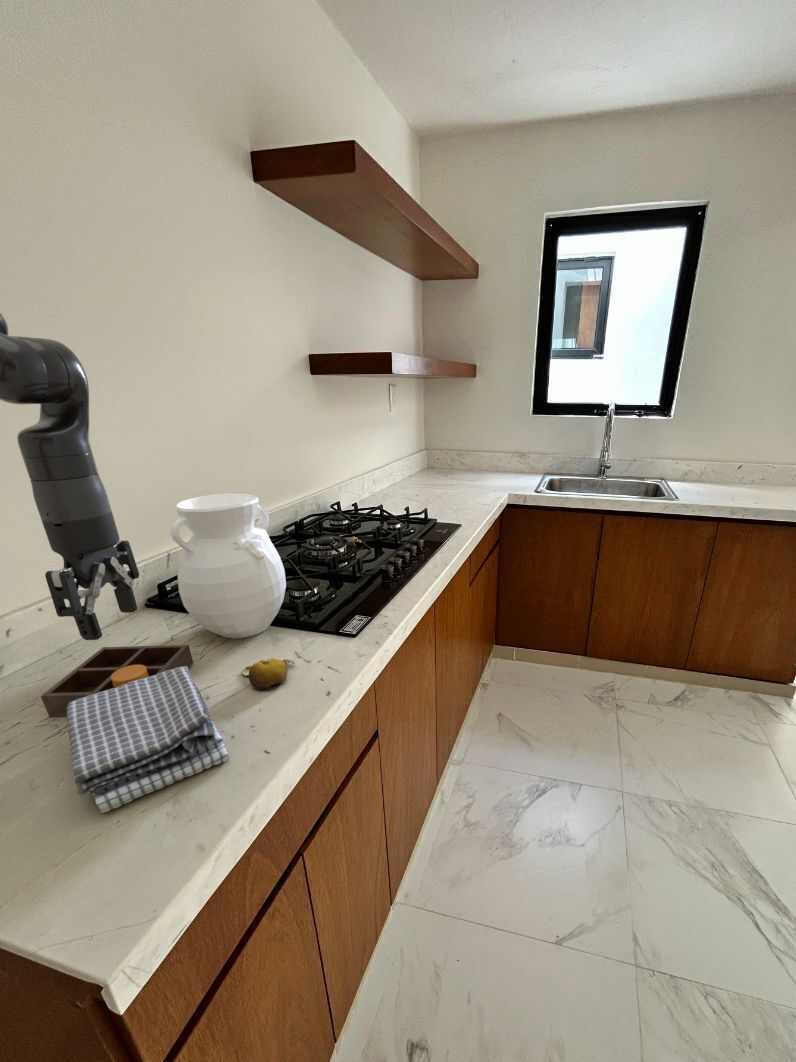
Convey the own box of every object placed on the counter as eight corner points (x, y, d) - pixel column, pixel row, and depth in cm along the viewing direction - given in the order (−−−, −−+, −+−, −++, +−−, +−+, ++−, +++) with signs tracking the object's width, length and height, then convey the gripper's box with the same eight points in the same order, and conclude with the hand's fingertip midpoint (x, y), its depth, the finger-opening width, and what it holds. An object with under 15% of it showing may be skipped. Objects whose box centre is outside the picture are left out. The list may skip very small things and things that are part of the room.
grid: (49, 717, 72) (40, 696, 71) (109, 665, 85) (102, 646, 84) (149, 714, 72) (142, 693, 71) (193, 662, 85) (188, 644, 84)
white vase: (265, 600, 110) (244, 486, 100) (310, 625, 98) (291, 498, 88) (176, 629, 98) (141, 502, 88) (215, 661, 86) (180, 519, 76)
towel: (198, 698, 76) (186, 653, 72) (232, 765, 62) (219, 713, 59) (78, 739, 67) (58, 690, 64) (87, 826, 54) (63, 770, 51)
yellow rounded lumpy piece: (293, 660, 85) (290, 641, 84) (298, 685, 78) (295, 665, 77) (241, 670, 83) (237, 651, 81) (242, 697, 76) (237, 676, 74)
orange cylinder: (111, 704, 73) (103, 681, 72) (129, 687, 77) (122, 664, 76) (143, 703, 73) (135, 680, 72) (159, 686, 78) (152, 664, 76)
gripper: (83, 500, 71) (115, 604, 77) (2, 527, 57) (49, 650, 64) (136, 499, 71) (164, 603, 77) (68, 525, 58) (108, 648, 64)
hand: (112, 624), depth 71 cm, fingers open, 8 cm apart
